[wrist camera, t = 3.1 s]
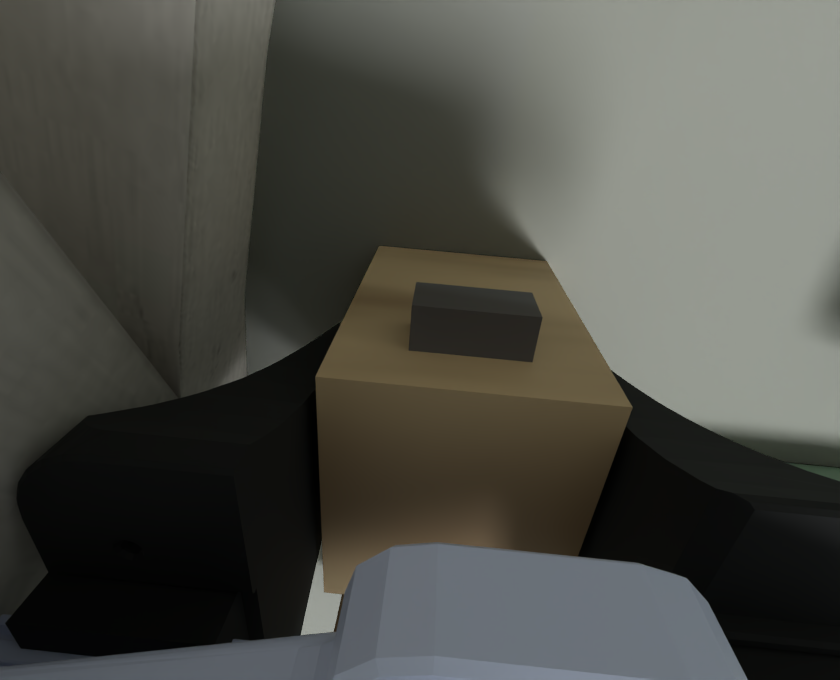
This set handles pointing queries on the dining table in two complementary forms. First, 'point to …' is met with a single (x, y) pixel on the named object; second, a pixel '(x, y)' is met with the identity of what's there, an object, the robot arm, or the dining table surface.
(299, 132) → the dining table surface
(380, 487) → the cabinet block
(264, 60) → the white letter a
